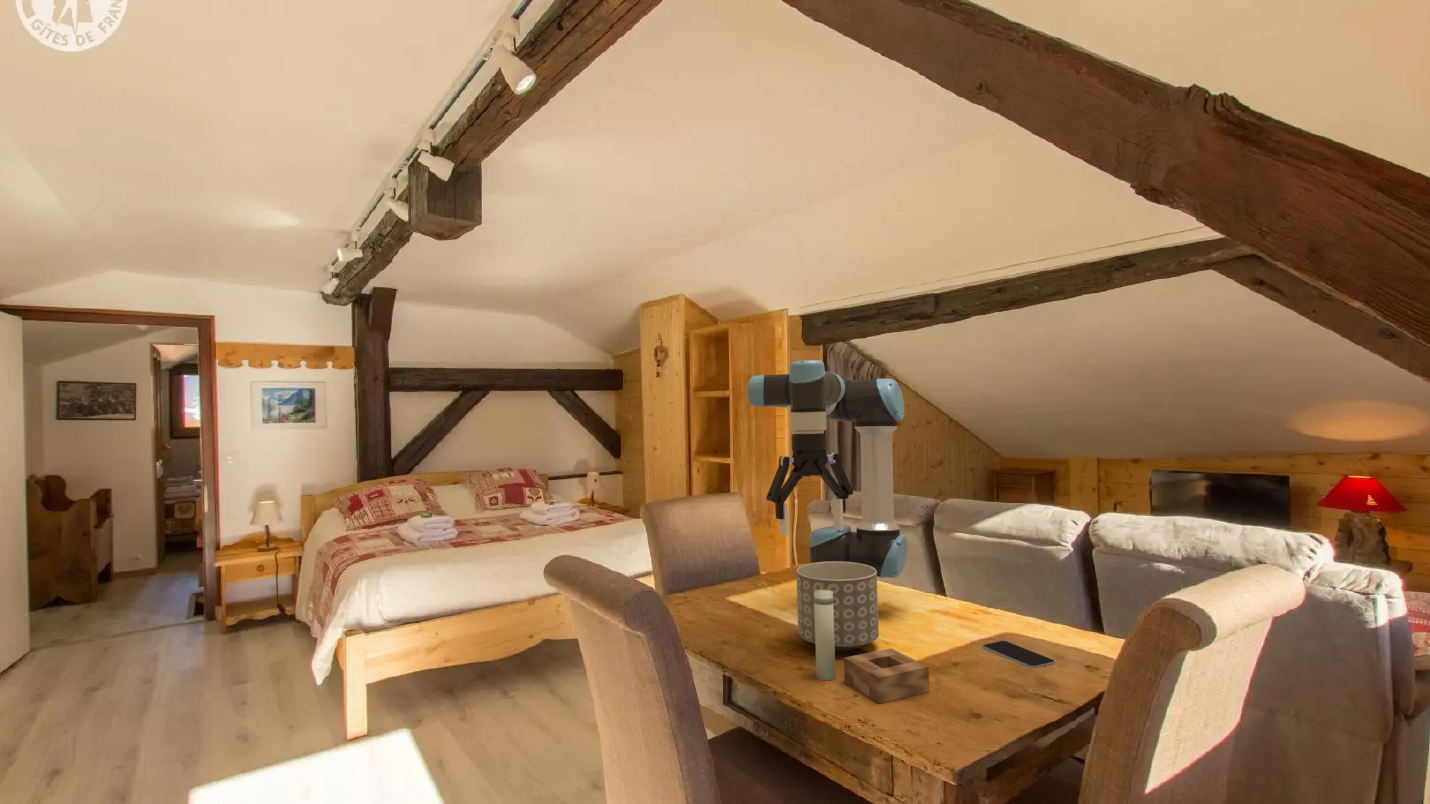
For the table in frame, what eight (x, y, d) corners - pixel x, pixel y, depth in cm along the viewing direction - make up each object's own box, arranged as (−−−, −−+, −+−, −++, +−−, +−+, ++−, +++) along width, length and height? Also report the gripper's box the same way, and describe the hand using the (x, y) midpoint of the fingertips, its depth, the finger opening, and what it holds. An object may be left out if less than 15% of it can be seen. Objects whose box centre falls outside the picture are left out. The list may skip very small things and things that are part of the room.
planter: (830, 666, 154) (828, 584, 154) (783, 641, 170) (781, 567, 171) (896, 650, 162) (893, 572, 162) (845, 628, 179) (843, 558, 179)
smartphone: (1032, 666, 149) (980, 645, 162) (1032, 671, 149) (980, 648, 162) (1057, 660, 151) (1004, 639, 165) (1057, 665, 151) (1004, 643, 165)
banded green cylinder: (829, 671, 150) (826, 588, 150) (839, 678, 146) (836, 593, 147) (812, 675, 149) (810, 591, 149) (822, 682, 145) (820, 595, 145)
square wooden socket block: (891, 671, 149) (890, 648, 149) (929, 691, 138) (928, 666, 138) (844, 681, 145) (843, 657, 145) (879, 703, 134) (878, 677, 134)
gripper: (847, 430, 157) (850, 523, 157) (749, 434, 147) (752, 534, 147) (867, 430, 151) (870, 528, 150) (765, 435, 141) (768, 539, 140)
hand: (811, 531), depth 149 cm, fingers open, 13 cm apart
